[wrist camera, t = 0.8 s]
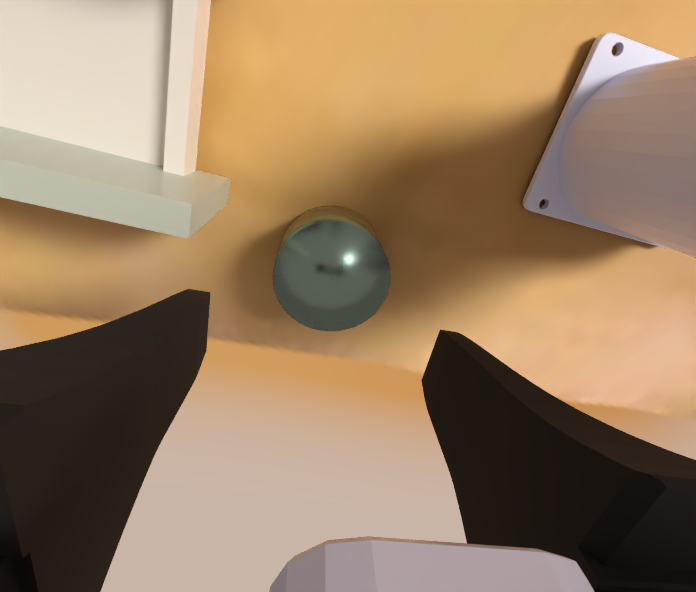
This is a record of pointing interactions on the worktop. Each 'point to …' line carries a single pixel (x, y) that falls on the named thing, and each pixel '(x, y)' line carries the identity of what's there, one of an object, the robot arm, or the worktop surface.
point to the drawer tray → (107, 110)
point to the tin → (331, 269)
